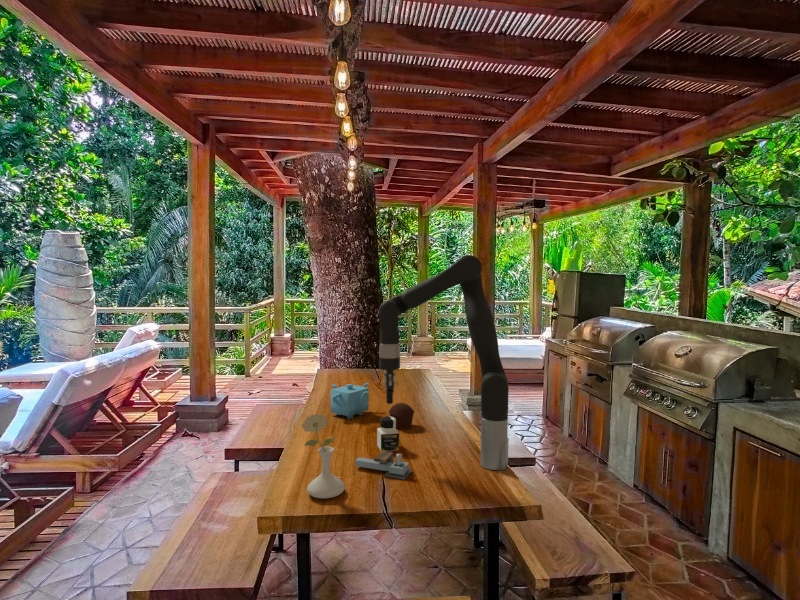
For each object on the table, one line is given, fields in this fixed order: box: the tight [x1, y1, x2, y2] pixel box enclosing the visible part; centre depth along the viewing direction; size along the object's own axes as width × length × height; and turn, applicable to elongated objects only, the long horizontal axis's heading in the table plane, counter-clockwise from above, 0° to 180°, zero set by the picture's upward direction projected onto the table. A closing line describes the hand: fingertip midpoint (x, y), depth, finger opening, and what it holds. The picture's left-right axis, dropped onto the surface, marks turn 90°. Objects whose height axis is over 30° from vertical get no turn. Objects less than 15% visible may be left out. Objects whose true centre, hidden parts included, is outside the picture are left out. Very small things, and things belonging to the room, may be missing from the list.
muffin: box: [388, 402, 415, 430], centre depth 205 cm, size 12×11×10 cm
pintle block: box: [384, 452, 413, 481], centre depth 156 cm, size 7×7×7 cm
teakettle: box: [330, 382, 370, 420], centre depth 222 cm, size 19×19×15 cm
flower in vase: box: [301, 413, 345, 499], centre depth 142 cm, size 13×11×25 cm
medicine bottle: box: [376, 415, 400, 453], centre depth 179 cm, size 7×7×12 cm
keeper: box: [373, 451, 394, 463], centre depth 159 cm, size 4×7×5 cm, turn 157°
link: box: [354, 456, 410, 475], centre depth 159 cm, size 18×5×2 cm, turn 70°
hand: (389, 403), depth 167 cm, fingers closed
